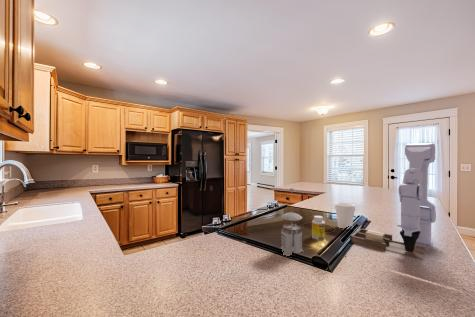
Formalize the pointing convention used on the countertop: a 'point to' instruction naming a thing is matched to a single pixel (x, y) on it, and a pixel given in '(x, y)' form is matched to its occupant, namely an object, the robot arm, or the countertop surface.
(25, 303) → the countertop surface
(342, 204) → the foam cup
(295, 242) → the french press
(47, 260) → the countertop surface
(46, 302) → the countertop surface
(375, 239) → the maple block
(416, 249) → the lane shelf
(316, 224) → the supplement bottle
